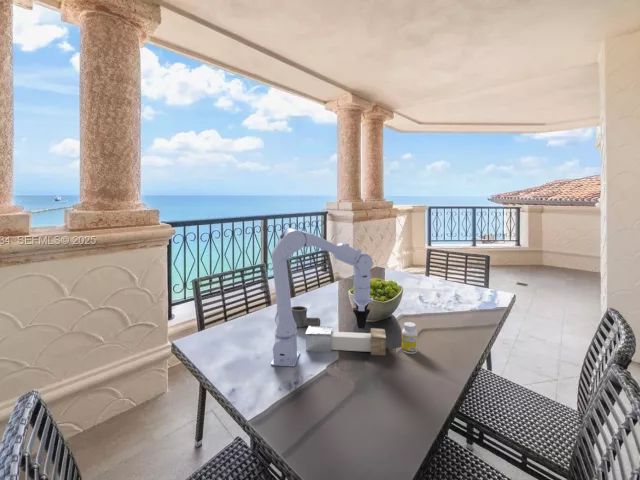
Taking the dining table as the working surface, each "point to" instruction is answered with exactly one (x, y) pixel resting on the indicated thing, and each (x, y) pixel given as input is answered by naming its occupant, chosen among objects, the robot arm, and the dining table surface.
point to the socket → (378, 342)
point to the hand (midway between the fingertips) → (361, 323)
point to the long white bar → (351, 341)
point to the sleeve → (318, 339)
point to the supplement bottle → (409, 338)
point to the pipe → (303, 317)
